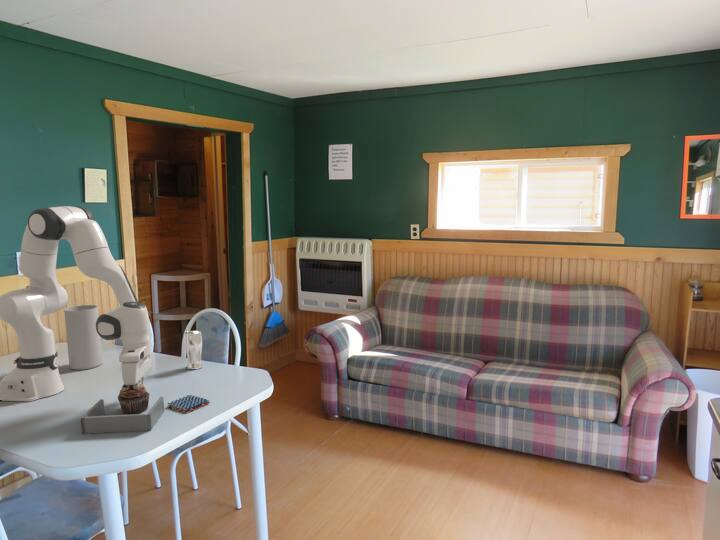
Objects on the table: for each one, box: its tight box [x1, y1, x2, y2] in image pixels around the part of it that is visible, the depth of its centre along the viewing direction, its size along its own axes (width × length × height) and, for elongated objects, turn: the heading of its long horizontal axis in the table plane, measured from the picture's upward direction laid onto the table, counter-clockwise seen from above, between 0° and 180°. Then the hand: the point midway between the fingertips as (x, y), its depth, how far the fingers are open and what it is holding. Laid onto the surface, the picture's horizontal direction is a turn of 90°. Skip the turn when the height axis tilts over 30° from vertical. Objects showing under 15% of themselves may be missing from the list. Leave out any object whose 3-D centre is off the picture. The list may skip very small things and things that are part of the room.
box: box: [80, 396, 165, 435], centre depth 167 cm, size 20×15×5 cm
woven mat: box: [166, 394, 211, 414], centre depth 180 cm, size 10×11×2 cm
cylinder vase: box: [63, 304, 103, 371], centre depth 224 cm, size 12×12×25 cm
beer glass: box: [183, 330, 203, 370], centre depth 220 cm, size 7×7×15 cm
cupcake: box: [117, 382, 150, 415], centre depth 176 cm, size 10×10×10 cm
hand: (140, 389), depth 182 cm, fingers closed
